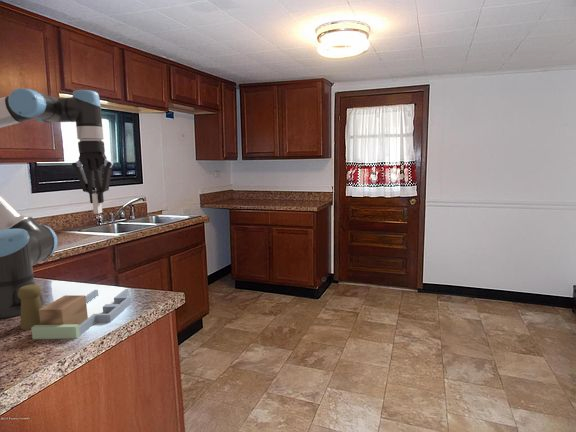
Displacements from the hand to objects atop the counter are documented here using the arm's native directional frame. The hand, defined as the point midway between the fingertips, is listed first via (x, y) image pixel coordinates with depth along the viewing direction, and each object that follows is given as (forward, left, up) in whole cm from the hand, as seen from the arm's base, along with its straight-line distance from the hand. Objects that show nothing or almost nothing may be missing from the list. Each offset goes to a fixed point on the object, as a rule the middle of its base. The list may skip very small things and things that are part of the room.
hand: (98, 212), depth 128 cm
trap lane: (+7, -21, -26) cm, 35 cm away
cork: (-6, -28, -27) cm, 39 cm away
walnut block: (+4, -30, -27) cm, 40 cm away
